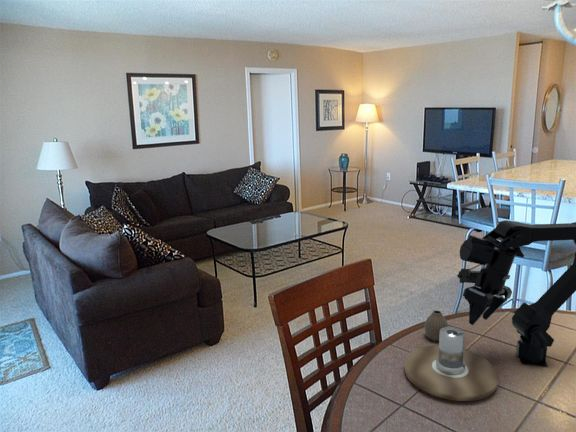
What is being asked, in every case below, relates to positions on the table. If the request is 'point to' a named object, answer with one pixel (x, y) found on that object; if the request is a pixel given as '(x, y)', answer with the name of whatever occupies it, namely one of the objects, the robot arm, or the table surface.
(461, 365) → the cover
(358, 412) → the table surface
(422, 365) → the turntable
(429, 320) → the vase
